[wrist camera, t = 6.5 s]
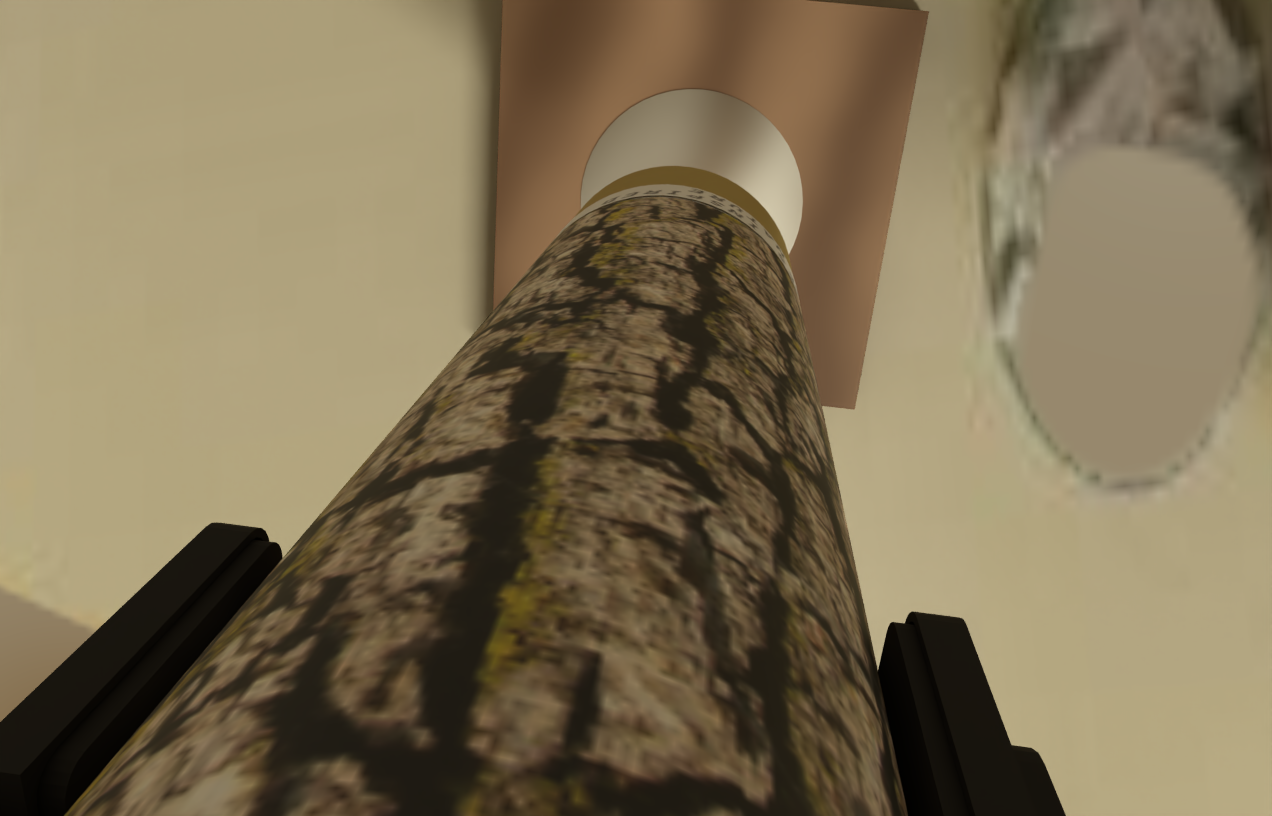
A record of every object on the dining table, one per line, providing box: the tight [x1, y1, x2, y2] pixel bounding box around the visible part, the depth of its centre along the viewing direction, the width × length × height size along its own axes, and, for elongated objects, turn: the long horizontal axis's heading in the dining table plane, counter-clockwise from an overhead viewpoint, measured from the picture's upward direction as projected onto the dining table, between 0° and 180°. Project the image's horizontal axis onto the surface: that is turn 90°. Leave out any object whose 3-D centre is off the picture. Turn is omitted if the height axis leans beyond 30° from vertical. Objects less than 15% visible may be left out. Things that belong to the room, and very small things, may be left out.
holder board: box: [493, 0, 929, 409], centre depth 40 cm, size 16×16×2 cm
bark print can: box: [64, 166, 908, 816], centre depth 17 cm, size 7×7×25 cm
